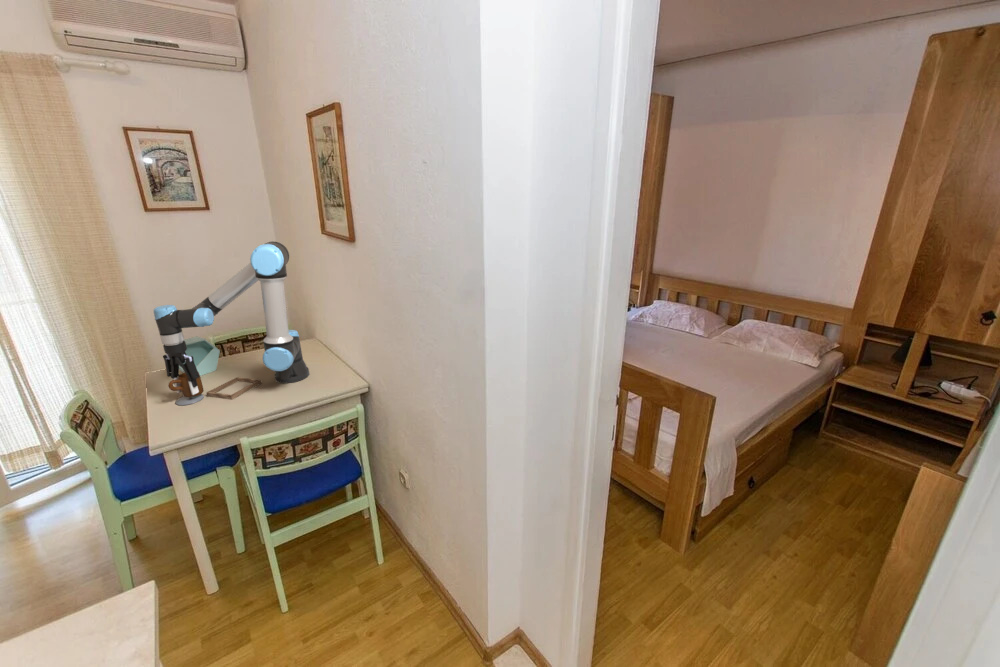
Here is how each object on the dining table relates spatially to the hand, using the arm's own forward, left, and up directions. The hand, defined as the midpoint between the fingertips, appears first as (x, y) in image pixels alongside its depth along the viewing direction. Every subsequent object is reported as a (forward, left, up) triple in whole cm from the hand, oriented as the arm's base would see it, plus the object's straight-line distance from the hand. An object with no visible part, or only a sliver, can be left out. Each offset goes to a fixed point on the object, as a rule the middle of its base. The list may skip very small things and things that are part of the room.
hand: (188, 392), depth 187 cm
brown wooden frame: (-11, -13, -4) cm, 17 cm away
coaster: (0, 0, -4) cm, 4 cm away
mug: (+1, 0, -2) cm, 2 cm away
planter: (+22, -24, -4) cm, 33 cm away
